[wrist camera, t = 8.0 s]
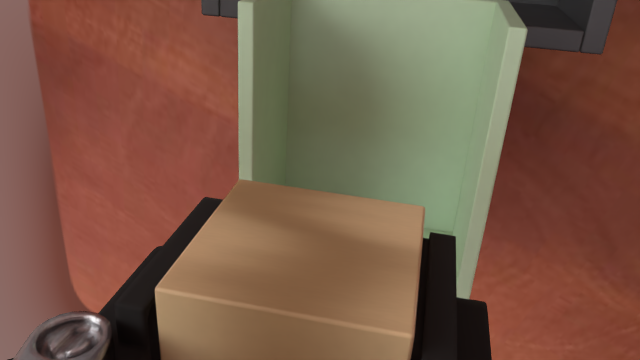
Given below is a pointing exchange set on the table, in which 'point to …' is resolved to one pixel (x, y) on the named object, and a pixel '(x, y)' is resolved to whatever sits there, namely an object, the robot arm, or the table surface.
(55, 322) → the robot arm
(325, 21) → the scoop box
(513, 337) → the table surface
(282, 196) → the block
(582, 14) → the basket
